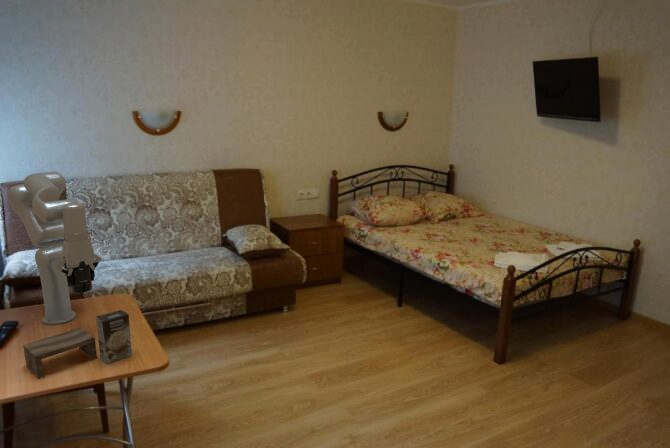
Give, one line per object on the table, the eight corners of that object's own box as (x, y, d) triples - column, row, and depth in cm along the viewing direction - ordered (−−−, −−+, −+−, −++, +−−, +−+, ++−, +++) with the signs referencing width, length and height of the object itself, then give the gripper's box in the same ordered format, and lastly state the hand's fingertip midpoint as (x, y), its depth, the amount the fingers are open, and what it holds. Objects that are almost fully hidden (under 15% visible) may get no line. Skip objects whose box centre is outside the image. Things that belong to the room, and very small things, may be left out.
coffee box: (107, 364, 175) (102, 321, 172) (99, 358, 180) (94, 316, 176) (133, 355, 182) (128, 314, 178) (125, 349, 186) (121, 309, 182)
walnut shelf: (26, 366, 174) (23, 344, 172) (83, 347, 188) (81, 327, 186) (38, 378, 166) (35, 356, 165) (97, 358, 180) (94, 337, 178)
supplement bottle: (84, 294, 187) (81, 263, 184) (68, 292, 188) (64, 261, 186) (96, 287, 194) (93, 257, 191) (80, 286, 195) (77, 256, 192)
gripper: (96, 230, 195) (100, 274, 199) (47, 238, 182) (53, 285, 187) (104, 234, 190) (109, 279, 194) (54, 243, 177) (60, 291, 182)
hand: (81, 281), depth 190 cm, fingers closed on supplement bottle, 6 cm apart
